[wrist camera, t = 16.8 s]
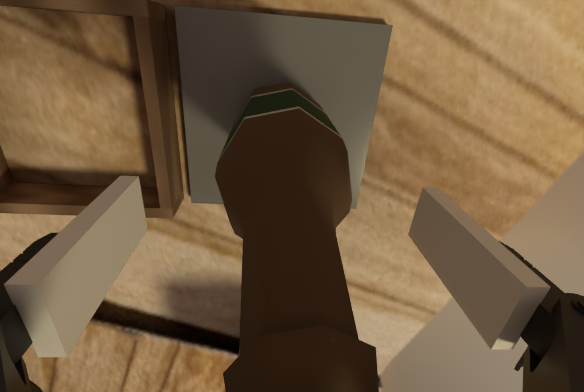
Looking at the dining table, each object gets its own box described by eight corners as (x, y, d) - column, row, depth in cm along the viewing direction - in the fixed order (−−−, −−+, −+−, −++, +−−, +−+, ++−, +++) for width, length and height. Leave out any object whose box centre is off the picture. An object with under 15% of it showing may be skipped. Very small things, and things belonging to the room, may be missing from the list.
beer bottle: (292, 59, 25) (410, 204, 4) (337, 136, 28) (532, 438, 7) (218, 112, 27) (15, 416, 6) (269, 178, 30) (263, 527, 9)
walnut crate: (6, 191, 30) (-29, 212, 26) (-77, -18, 22) (-143, -28, 19) (183, 197, 31) (173, 218, 28) (164, 5, 24) (145, -1, 20)
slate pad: (193, 198, 32) (191, 202, 31) (177, 6, 24) (174, 5, 23) (353, 204, 33) (356, 208, 32) (388, 25, 25) (392, 25, 24)
